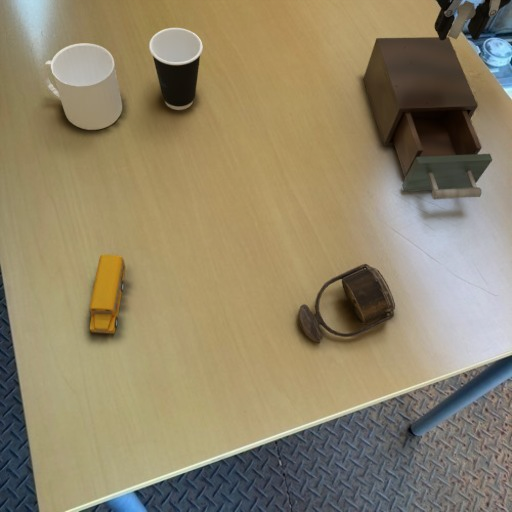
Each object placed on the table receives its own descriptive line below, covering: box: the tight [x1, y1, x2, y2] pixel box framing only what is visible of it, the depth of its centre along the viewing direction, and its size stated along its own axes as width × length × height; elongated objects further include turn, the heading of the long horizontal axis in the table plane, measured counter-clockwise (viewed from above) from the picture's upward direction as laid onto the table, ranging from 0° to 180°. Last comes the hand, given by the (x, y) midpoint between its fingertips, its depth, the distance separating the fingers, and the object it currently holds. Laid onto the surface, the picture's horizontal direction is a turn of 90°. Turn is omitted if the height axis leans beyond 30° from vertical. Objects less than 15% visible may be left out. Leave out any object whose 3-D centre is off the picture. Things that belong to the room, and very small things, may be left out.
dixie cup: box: [148, 27, 204, 111], centre depth 86 cm, size 8×8×11 cm
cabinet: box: [363, 36, 479, 147], centre depth 90 cm, size 16×13×9 cm
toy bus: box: [89, 254, 126, 335], centre depth 71 cm, size 3×10×4 cm, turn 178°
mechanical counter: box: [298, 263, 396, 343], centre depth 71 cm, size 7×13×10 cm
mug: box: [40, 42, 123, 131], centre depth 85 cm, size 12×9×9 cm
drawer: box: [392, 110, 493, 200], centre depth 84 cm, size 19×11×7 cm, turn 7°
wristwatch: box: [447, 0, 476, 40], centre depth 80 cm, size 3×5×5 cm, turn 151°
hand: (456, 32), depth 82 cm, fingers closed on wristwatch, 4 cm apart
